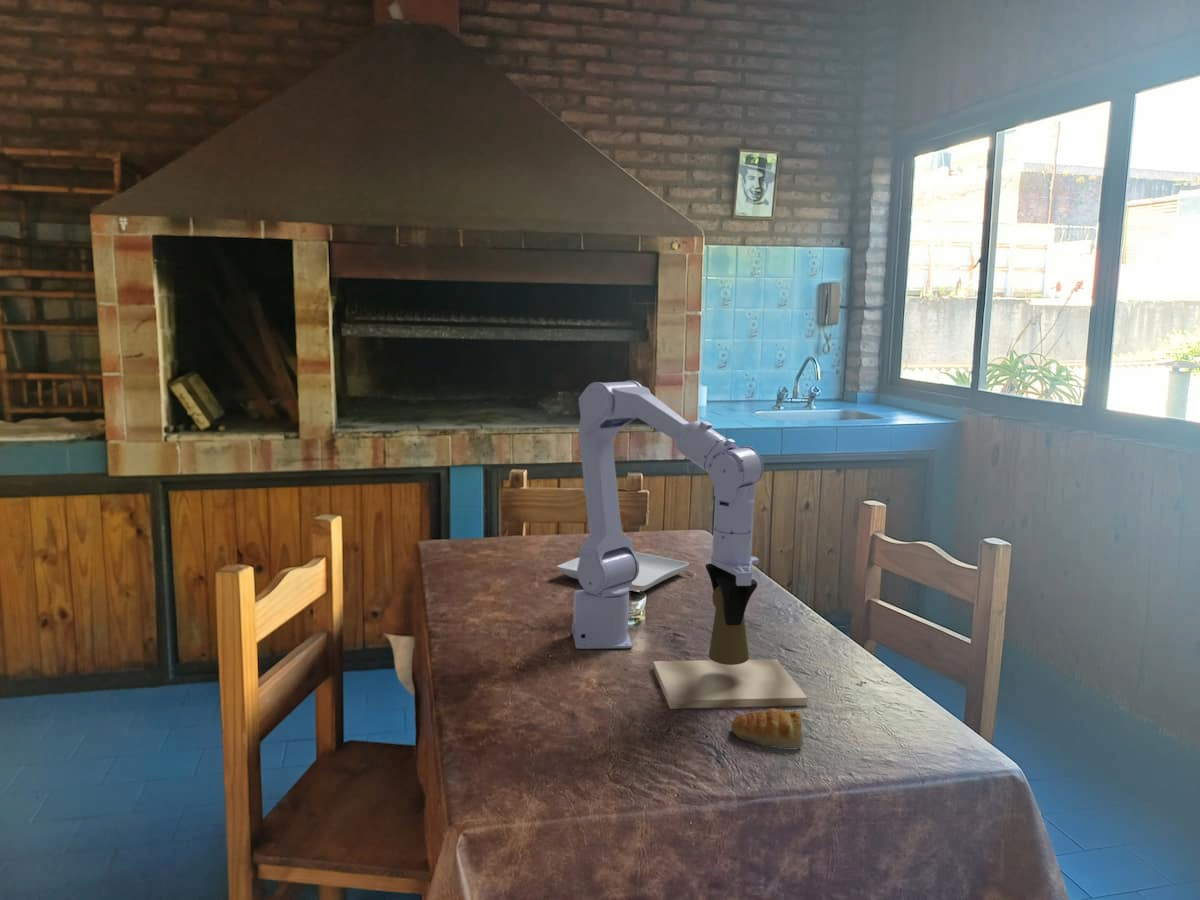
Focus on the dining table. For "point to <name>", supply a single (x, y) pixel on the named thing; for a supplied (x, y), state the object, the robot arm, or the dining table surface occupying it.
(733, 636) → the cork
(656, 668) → the birch board
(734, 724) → the pastry
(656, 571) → the salad plate
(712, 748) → the dining table surface
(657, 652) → the dining table surface
